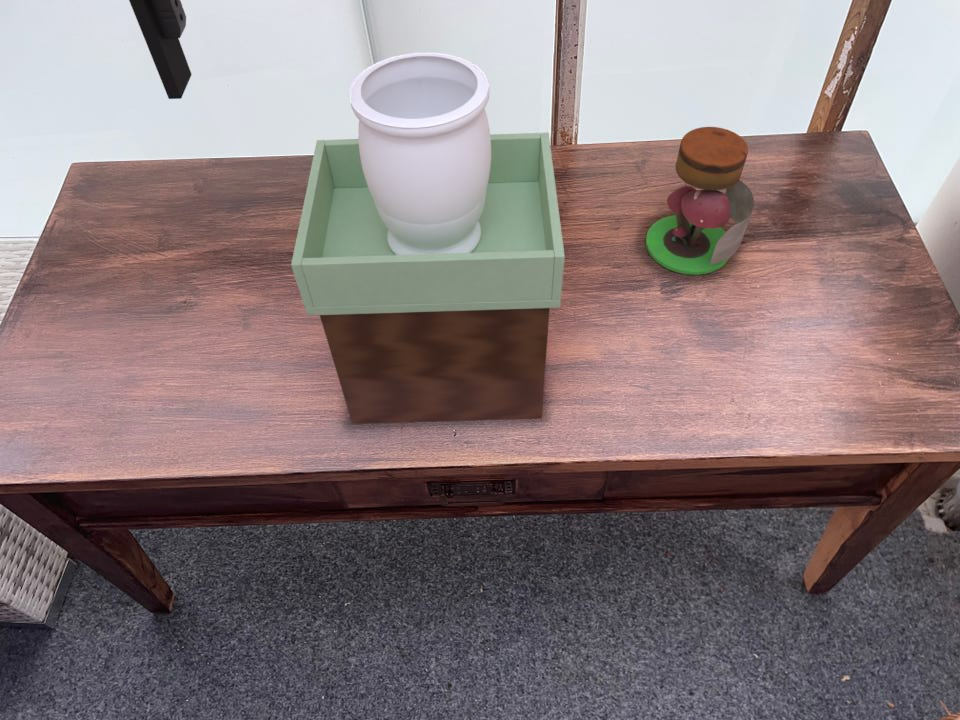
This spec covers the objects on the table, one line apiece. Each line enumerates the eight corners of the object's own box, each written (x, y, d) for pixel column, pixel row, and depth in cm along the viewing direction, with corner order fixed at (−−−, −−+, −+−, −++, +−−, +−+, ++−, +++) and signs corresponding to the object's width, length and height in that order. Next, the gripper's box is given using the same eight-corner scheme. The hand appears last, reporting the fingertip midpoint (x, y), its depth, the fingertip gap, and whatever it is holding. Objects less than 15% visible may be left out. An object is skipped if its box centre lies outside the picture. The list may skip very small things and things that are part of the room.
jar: (387, 287, 62) (359, 137, 50) (368, 212, 68) (339, 62, 57) (506, 263, 63) (506, 111, 52) (476, 191, 70) (470, 41, 58)
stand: (532, 312, 85) (538, 190, 71) (541, 418, 76) (550, 301, 62) (363, 317, 86) (336, 196, 71) (352, 424, 76) (317, 308, 62)
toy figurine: (643, 281, 88) (664, 181, 76) (640, 213, 96) (659, 113, 84) (742, 287, 87) (780, 186, 75) (731, 218, 95) (764, 117, 83)
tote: (545, 184, 72) (548, 132, 67) (560, 308, 61) (564, 256, 57) (328, 191, 72) (316, 139, 67) (307, 315, 62) (290, 264, 57)
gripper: (158, -438, 30) (282, 51, 47) (-436, -413, 30) (-102, 64, 47) (102, -417, 25) (262, 118, 42) (-599, -388, 26) (-164, 132, 42)
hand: (70, 90), depth 44 cm, fingers open, 13 cm apart
